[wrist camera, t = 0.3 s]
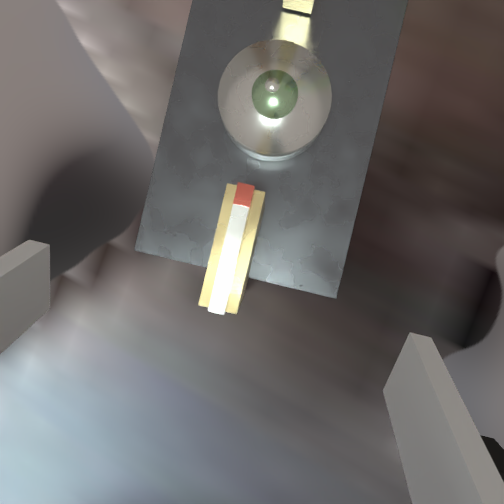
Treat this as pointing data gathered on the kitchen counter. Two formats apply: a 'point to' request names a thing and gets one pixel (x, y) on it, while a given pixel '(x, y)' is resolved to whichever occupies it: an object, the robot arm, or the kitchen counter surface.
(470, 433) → the robot arm
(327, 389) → the kitchen counter surface
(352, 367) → the kitchen counter surface
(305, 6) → the tan striped slab
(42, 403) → the kitchen counter surface
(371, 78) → the base plate
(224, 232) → the yellow white layered bar
